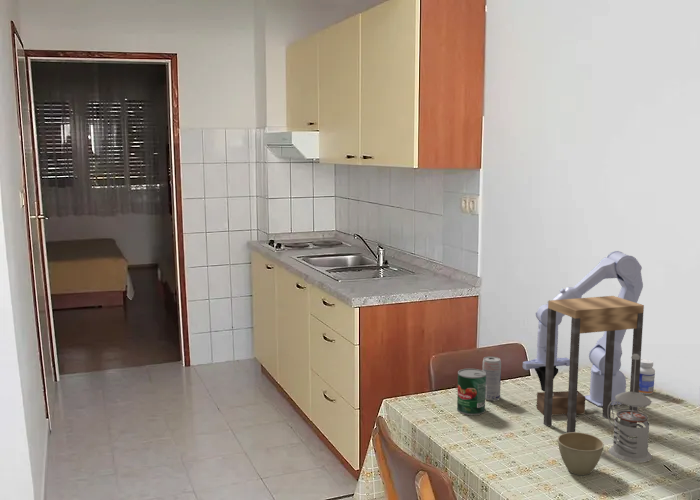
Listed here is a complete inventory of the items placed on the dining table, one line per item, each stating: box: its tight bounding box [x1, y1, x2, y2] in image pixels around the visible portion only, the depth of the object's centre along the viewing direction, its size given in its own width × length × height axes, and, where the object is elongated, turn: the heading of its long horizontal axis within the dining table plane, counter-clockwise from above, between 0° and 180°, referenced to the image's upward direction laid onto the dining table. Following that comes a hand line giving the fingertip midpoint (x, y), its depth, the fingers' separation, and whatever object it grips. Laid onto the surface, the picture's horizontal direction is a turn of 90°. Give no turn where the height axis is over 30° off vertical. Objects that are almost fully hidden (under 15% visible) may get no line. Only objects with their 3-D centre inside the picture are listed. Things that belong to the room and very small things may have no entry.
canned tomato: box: [456, 368, 486, 416], centre depth 194 cm, size 8×8×11 cm
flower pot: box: [557, 431, 605, 476], centre depth 157 cm, size 10×10×7 cm
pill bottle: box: [639, 358, 656, 396], centre depth 208 cm, size 5×5×10 cm
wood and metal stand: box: [543, 295, 645, 433], centre depth 179 cm, size 20×12×34 cm, turn 106°
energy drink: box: [482, 356, 502, 402], centre depth 203 cm, size 5×5×12 cm
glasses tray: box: [536, 390, 586, 416], centre depth 193 cm, size 12×5×6 cm, turn 96°
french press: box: [607, 354, 653, 464], centre depth 165 cm, size 10×12×25 cm
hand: (545, 390), depth 201 cm, fingers closed
